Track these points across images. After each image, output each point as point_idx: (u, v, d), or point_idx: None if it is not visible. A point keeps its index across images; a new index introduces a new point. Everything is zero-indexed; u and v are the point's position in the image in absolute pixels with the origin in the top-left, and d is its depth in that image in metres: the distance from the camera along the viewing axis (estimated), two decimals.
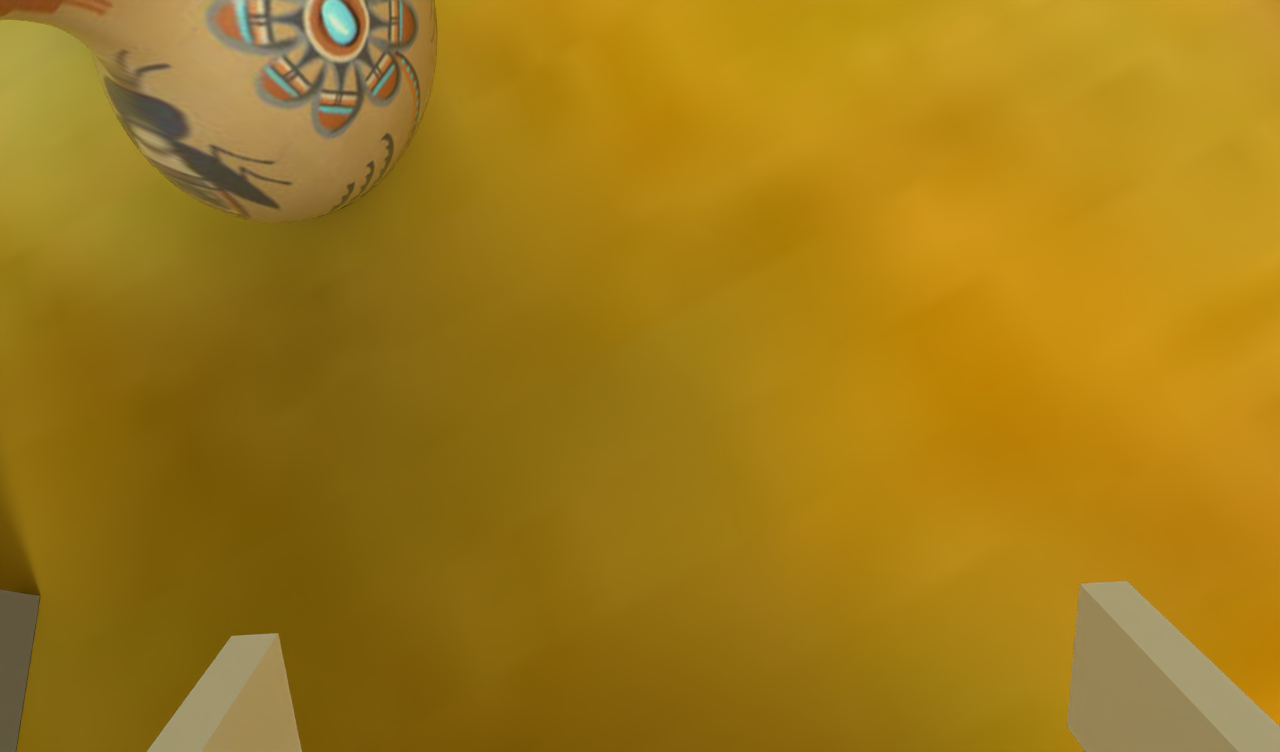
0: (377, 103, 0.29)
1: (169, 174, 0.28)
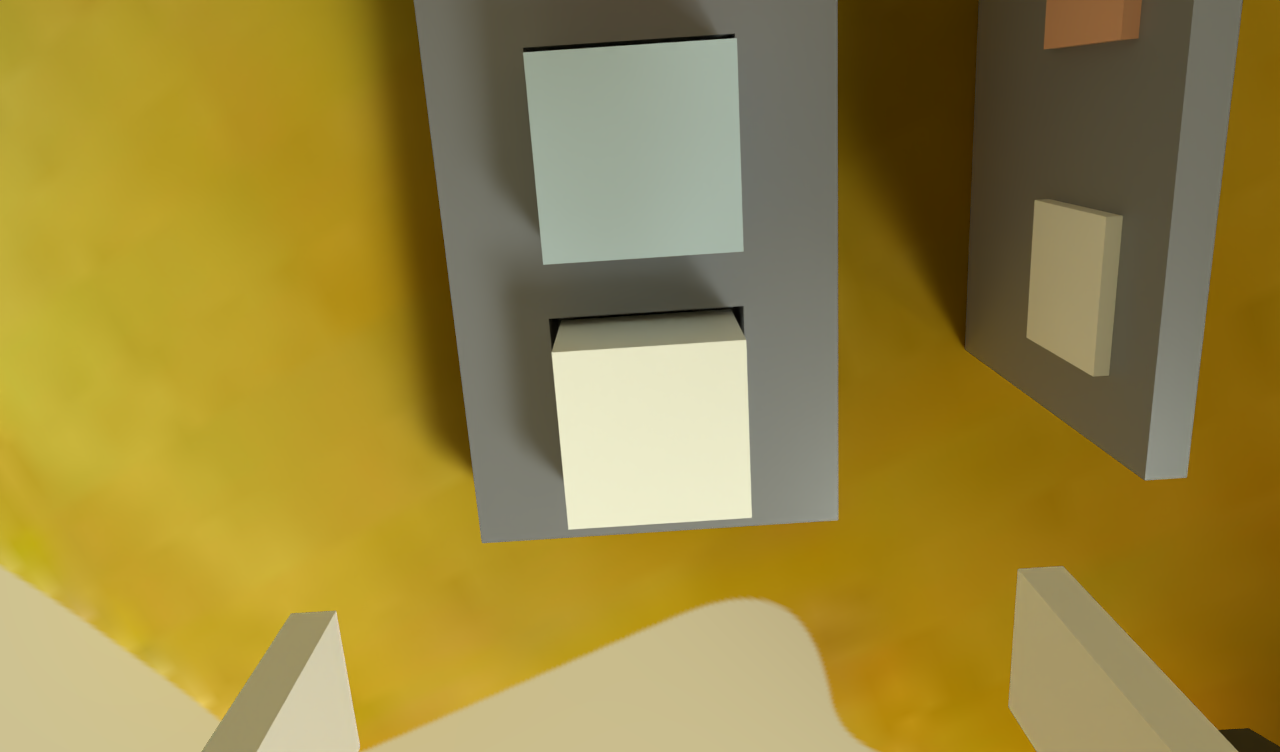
0: None
1: None
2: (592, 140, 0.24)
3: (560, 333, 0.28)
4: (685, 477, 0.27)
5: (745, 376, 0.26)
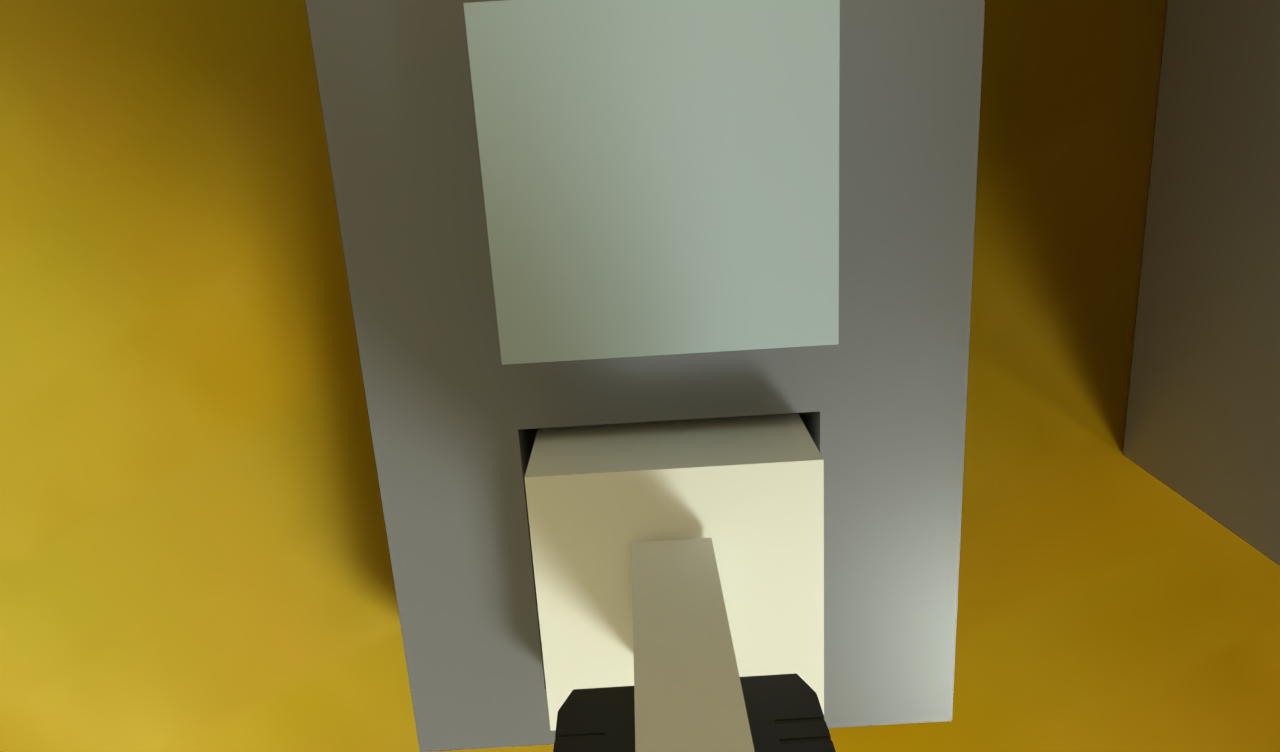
0: None
1: None
2: (585, 157, 0.14)
3: (540, 435, 0.19)
4: None
5: (820, 513, 0.17)
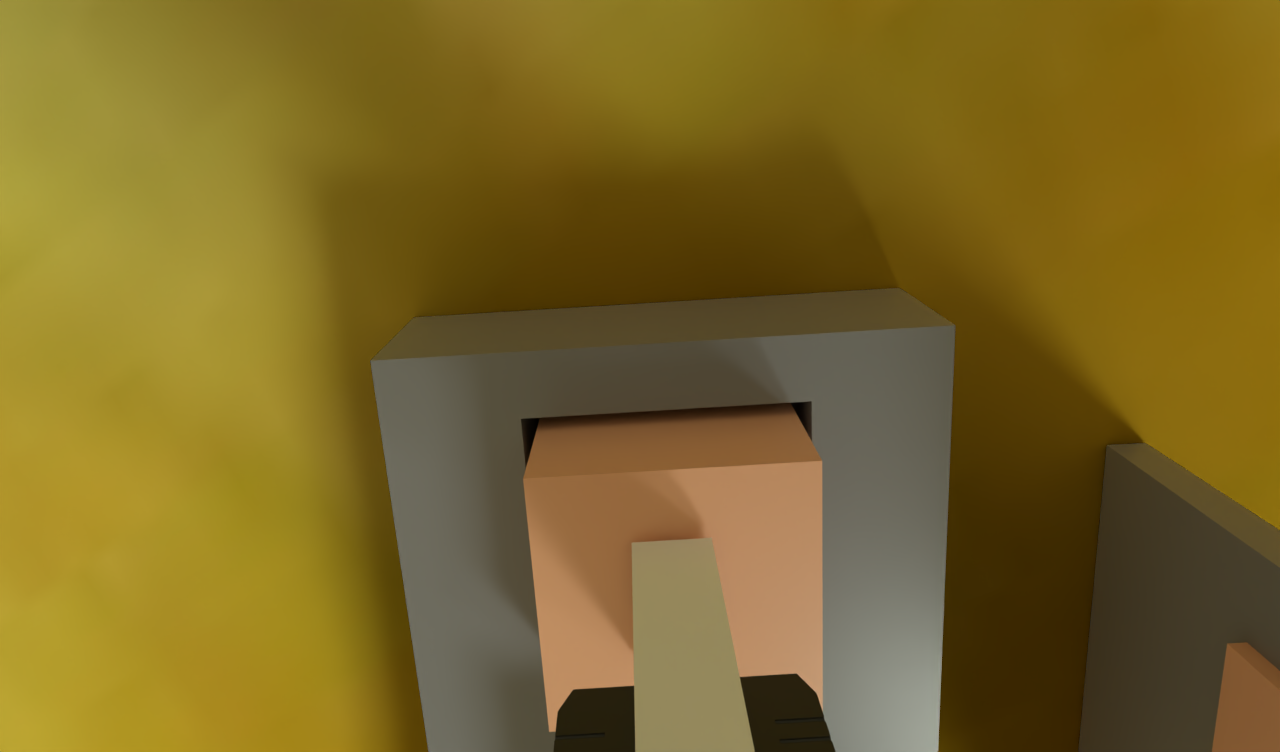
0: None
1: None
2: None
3: None
4: None
5: None
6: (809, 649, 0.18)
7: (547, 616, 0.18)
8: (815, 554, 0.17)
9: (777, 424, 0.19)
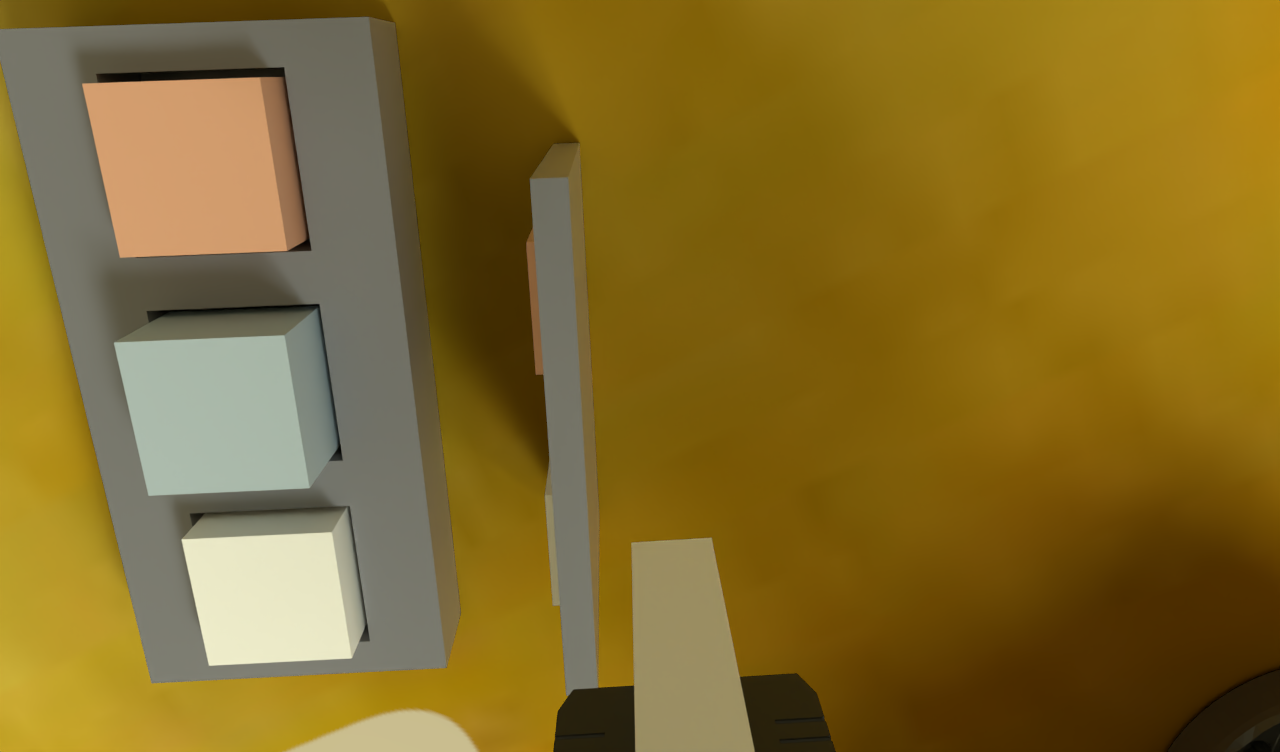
0: None
1: None
2: (177, 406, 0.30)
3: None
4: (296, 629, 0.35)
5: (334, 557, 0.34)
6: (271, 204, 0.30)
7: (108, 177, 0.29)
8: (266, 140, 0.29)
9: None
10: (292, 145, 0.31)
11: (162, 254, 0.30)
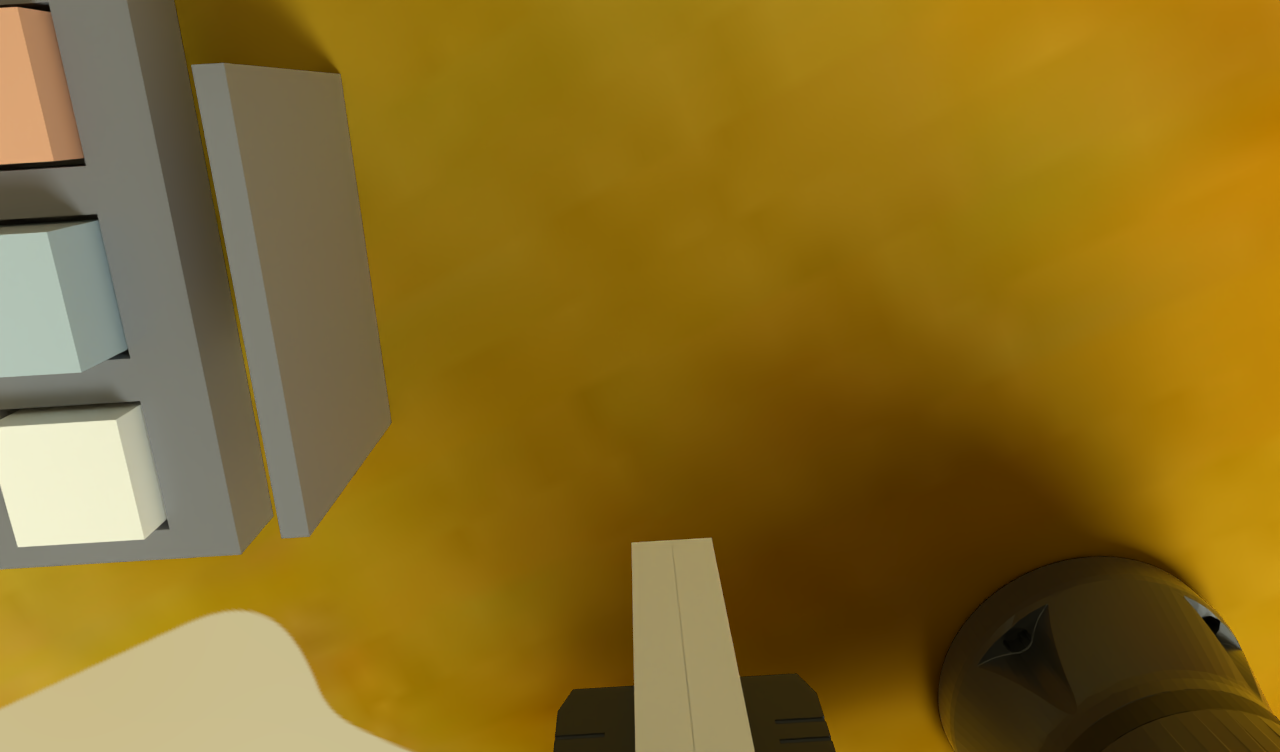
0: None
1: None
2: None
3: (19, 410, 0.40)
4: (93, 512, 0.39)
5: (120, 444, 0.38)
6: (37, 119, 0.34)
7: None
8: (27, 62, 0.34)
9: None
10: None
11: None
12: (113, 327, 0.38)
